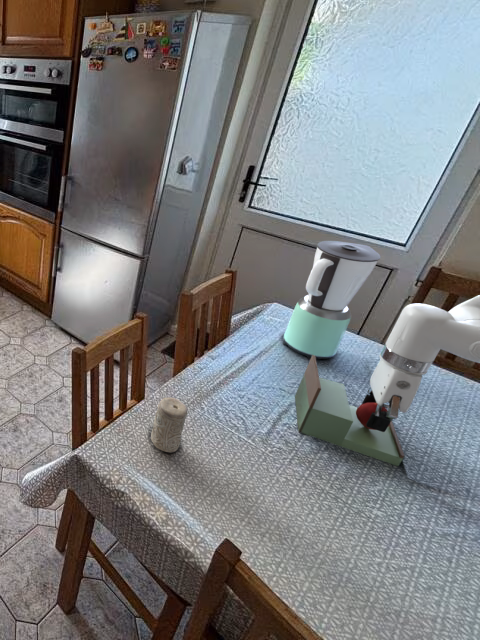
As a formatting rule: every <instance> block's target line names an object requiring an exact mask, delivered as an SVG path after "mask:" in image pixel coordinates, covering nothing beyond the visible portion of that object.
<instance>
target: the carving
mask: <svg viewBox="0 0 480 640" xmlns="http://www.w3.org/2000/svg"><path fill="white" fill-rule="evenodd" d="M187 415H188V407H187V405H186V404H185V403H184V402H182V401H181V400H179V399H178V398H175V397H168V396H167V397H163V398H162V399H161V400H160V401H159V402H158V404H157V410H156V411H155V416H154V420H153V425H152V429H151V433H150V439H151V442H152V444H153V446H154V447H155V448H157V449H158V450H160V451H162V452H166V453H174V452H176V451H178V449H179V447H180V444H181V441H182V437H183V435H182V434H183V430H184V426H185V422H186V418H187Z"/></svg>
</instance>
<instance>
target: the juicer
mask: <svg viewBox="0 0 480 640" xmlns="http://www.w3.org/2000/svg"><path fill="white" fill-rule="evenodd" d="M380 260H381V255H380V254H379V252H377V251H376V250H375V249H373V248H372V247H371V246H369V245H366V244H359V243H353V242H347V241H337V240H322V241H319V242H317V244H316V250H315V254H314V259H313V264H312V268H311V270H310V273H309V275H308V278H307V281H306V284H305V291H306V292H307V293H308V294H307V295H304V296H303V297H301V298H299V299H298V301H297V302H296V304H295V306H294V308H293V311H292V313H291V315H290V318H289V321H288V324H287V326H286V328H285V332H284V334H283V342H282V344H283V343H284V344H285V345H288V346H287V347H289V348H290V349H291V350H293V351H294V352H296V353H298V354H300V355H303V356H306V358H307V359H308V360H309V361H310V359H311V357H312V355H315V357H316V359H317V360H326V359H331V358H333V357H334V356H336V354H337V352H338V349H339V347H340V345H341V342H342V340H343V338H344V336H345V334H346V331H347V329H348V327H349V324H350V322H351V319H352V313H351V310H350V308H349V307H348V305H350V302H351V301H352V300H353V298H354V297H355V296H356V295H357V293H358V292H359V290H360V289H361V287H362V286H363V285H364V283H365V282H366V280H367V279H368V278H369V276H370V275H371V274H372V272H373V271H374V269H375V267H376V265H377V264H378V261H380ZM285 345H284V346H285Z"/></svg>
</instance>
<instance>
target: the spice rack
mask: <svg viewBox="0 0 480 640" xmlns="http://www.w3.org/2000/svg"><path fill="white" fill-rule="evenodd" d="M294 402H295V412H296V424H297V432H298V433H300V434H304V435H307V436H310V437H312V438H315V439H318V440H321V441H324V442H326V443H330V444H332V445H335V446H338V447H340V448H343V449H347V450H350V451H352V452H356V453H358V454H361V455H364V456H367V457H370V458H372V459H376V460H378V461H382V462H383V463H387V464H390V465H392V466H396V467H399V466H400V465H401V463H402V461H403V460H404V458H405V454H404V450H403V448H402V445H401V442H400V440H399V436H398V434H397V431H396V429H395V426H394V423H393V420H392V421H391V422H390V425H389V426H388V427H387V429H386V431H385V432H381V431H378V430H372V429H368V428H365V427H364V426H363V425H362V424H361V423H360V421H359V420H358V418H357V415H356V410H357V408H358V407H359V406H358V407H357V406H354V405H352V404H350V403H349V398H348V395H347V391H346V387H345V384H344V383H341V382H337V381H334V380H330V379H327V378H323V377H320V374H319V369H318V364H317V358H316V357H315V355H312V357H311V359H310V360H309V362H308V364H307V367H306V368H305V371H304V373H303V376H302V378H301V380H300V382H299V385H298V387H297V389H296V392H295V394H294Z"/></svg>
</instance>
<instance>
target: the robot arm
mask: <svg viewBox="0 0 480 640" xmlns="http://www.w3.org/2000/svg"><path fill="white" fill-rule="evenodd" d="M441 350H442V351H444V352H447V353H450V354H453V355H455V356H457V357H459V358H462V359H465V360H466V361H467V360H468V361H470V362H474V363H478V364H480V294H479V295H476V296H474V297H472V298H470V299H468V300H465V301H463V302H461V303H459V304H457V305H456V306H454V307H452V308H451V309H450V310H449V311H447V310H445V309H442V308H440V307H437V306H434V305H432V304H431V305H430V304H426V303H410V304H407V305H406V306H404V307H403V308H402V311H401V312H400V314H399V316H398V318H397V320H396V322H395V324H394V326H393V328H392V331H391V332H390V333H389V336H388V337H387V339H386V341H385V344H384V345H383V348H382V350H381V351H380V353H379V355H378V356H379V359H380V360H379V361H378V363H377V364H376V366H375V368H374V370H373V371H372V374H371V376H370V379H369V385H370V387H369V388H368V390H367V393H366V394H365V396H364V399H363V400H362V403H361V404H360V405H362V404H365V403H376V402H377V403H378V405H377V408H376V411H375V413H373V412H372V414H371V416H370V418H369V420H368V421H367V423H366V426H367V427H369V428H372V429H375V430H378V431H381V432H385V431H386V429H387V427H388V426H389V424H390V422H391V421H392V422H393V420H397V419H398V417H399V412H400V413H402V414H403V413H404V414H405V413H407V412H408V411H409V409H410V407H411V405H412V403H413V401H414V399H415V397H416V395H417V392H418V390H419V388H420V385H421V382H422V379H423V376H424V375H426V374H427V373H428V371H429V370H430V368H431V366H432V365H433V363H434V361H435V359H436V357H437V356H438V354H439V353H440V351H441ZM387 403H388V404H387ZM382 407H385V408H386V409H387V410H388V411H387V412H385V411H381V410H382Z"/></svg>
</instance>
